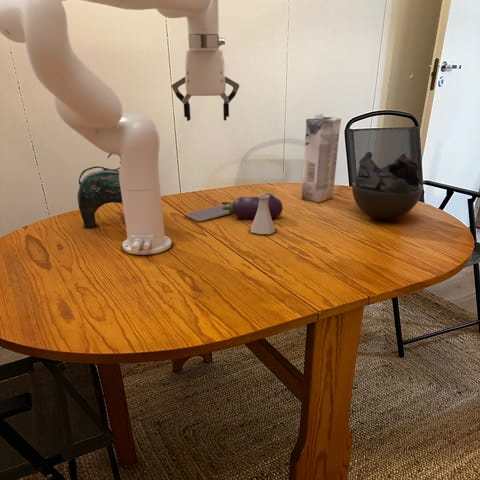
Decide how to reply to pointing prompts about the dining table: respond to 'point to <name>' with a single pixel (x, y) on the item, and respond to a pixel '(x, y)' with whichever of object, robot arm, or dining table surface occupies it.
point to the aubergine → (253, 207)
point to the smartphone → (208, 213)
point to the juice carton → (320, 157)
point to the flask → (263, 217)
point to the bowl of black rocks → (387, 187)
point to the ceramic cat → (98, 192)
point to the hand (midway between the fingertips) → (206, 120)
